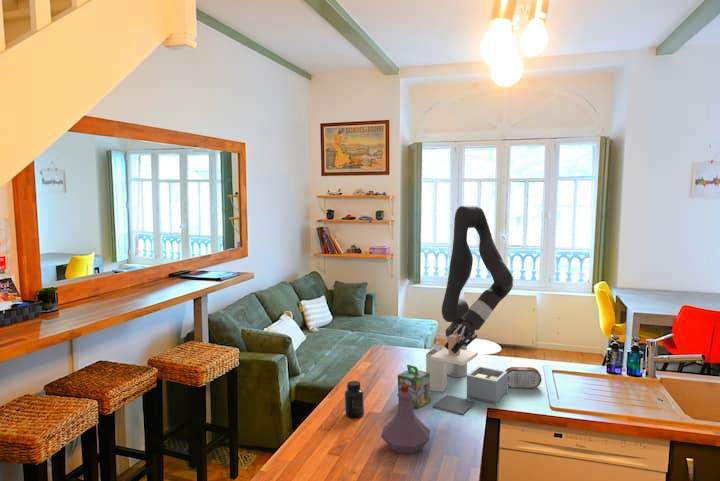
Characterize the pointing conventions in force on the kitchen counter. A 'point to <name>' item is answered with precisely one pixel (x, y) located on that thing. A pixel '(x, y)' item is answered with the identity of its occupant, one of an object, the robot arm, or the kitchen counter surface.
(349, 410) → the supplement bottle
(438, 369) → the milk carton
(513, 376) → the tin
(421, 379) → the green handled carton
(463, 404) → the mat
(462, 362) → the lid
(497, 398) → the box
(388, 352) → the kitchen counter surface
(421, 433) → the flask
